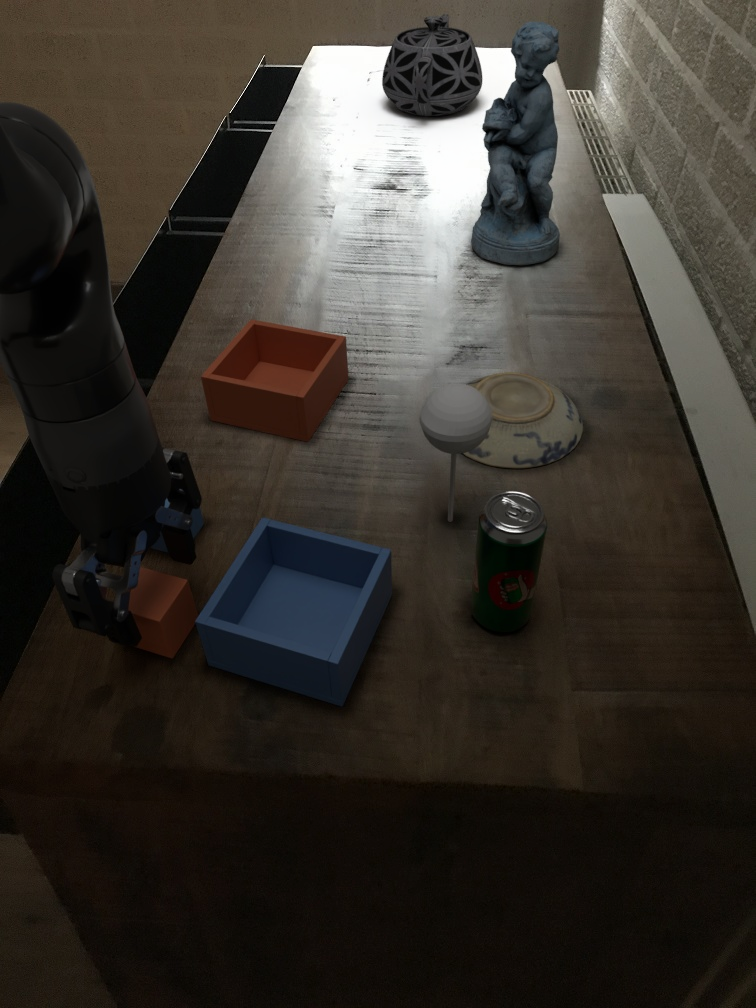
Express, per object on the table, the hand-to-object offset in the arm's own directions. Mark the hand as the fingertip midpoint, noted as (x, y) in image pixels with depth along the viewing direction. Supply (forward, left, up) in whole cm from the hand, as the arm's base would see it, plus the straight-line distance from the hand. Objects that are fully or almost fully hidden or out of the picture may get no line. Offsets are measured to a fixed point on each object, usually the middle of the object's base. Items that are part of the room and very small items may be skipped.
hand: (157, 598), depth 63 cm
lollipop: (+19, +20, -4) cm, 27 cm away
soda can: (+26, +11, -4) cm, 28 cm away
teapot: (-16, +128, -4) cm, 129 cm away
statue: (+12, +76, -4) cm, 77 cm away
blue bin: (+11, +4, -4) cm, 12 cm away
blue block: (-5, +10, -4) cm, 12 cm away
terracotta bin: (-4, +32, -4) cm, 32 cm away
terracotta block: (0, 0, -4) cm, 4 cm away
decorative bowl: (+21, +36, -4) cm, 42 cm away
